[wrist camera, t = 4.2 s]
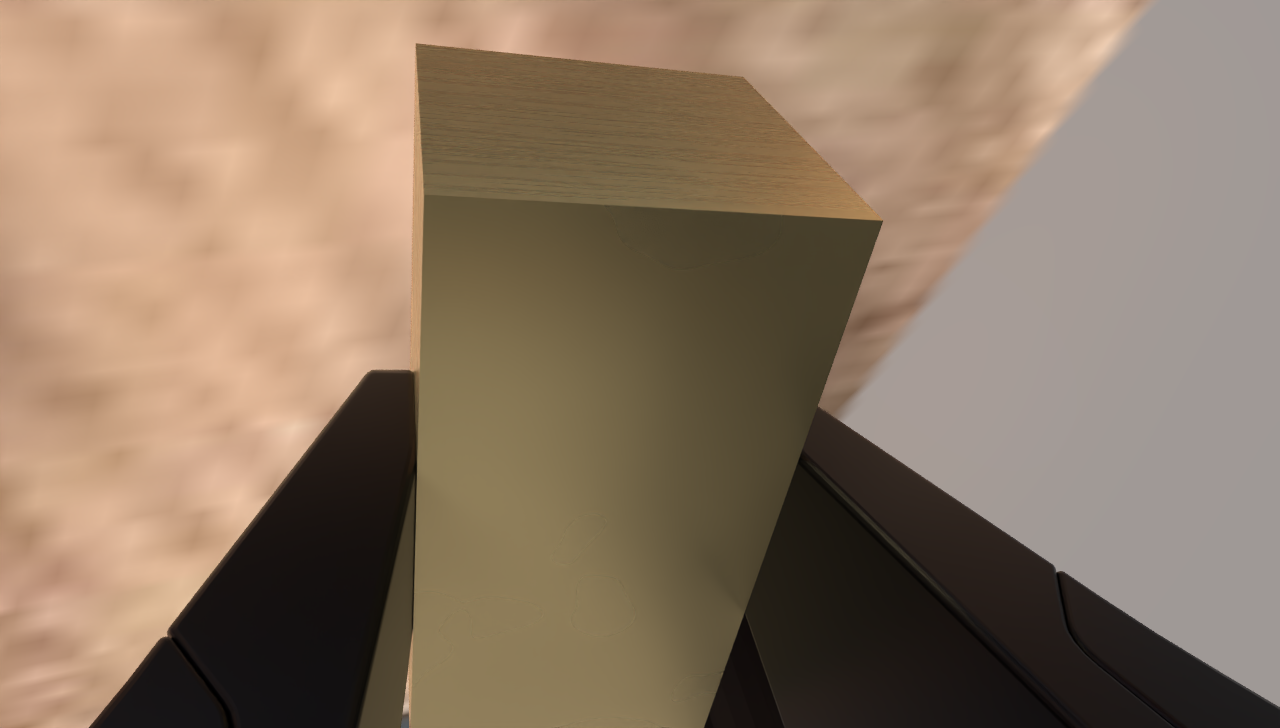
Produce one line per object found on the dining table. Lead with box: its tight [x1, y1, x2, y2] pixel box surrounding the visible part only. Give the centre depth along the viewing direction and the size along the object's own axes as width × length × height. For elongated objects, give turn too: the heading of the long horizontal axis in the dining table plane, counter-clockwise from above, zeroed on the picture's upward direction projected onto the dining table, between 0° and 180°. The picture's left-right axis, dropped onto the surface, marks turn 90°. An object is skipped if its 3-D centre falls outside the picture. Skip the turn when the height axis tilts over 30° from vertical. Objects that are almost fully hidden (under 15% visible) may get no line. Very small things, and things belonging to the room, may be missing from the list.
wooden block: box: [409, 44, 883, 728], centre depth 8 cm, size 3×6×3 cm, turn 170°
